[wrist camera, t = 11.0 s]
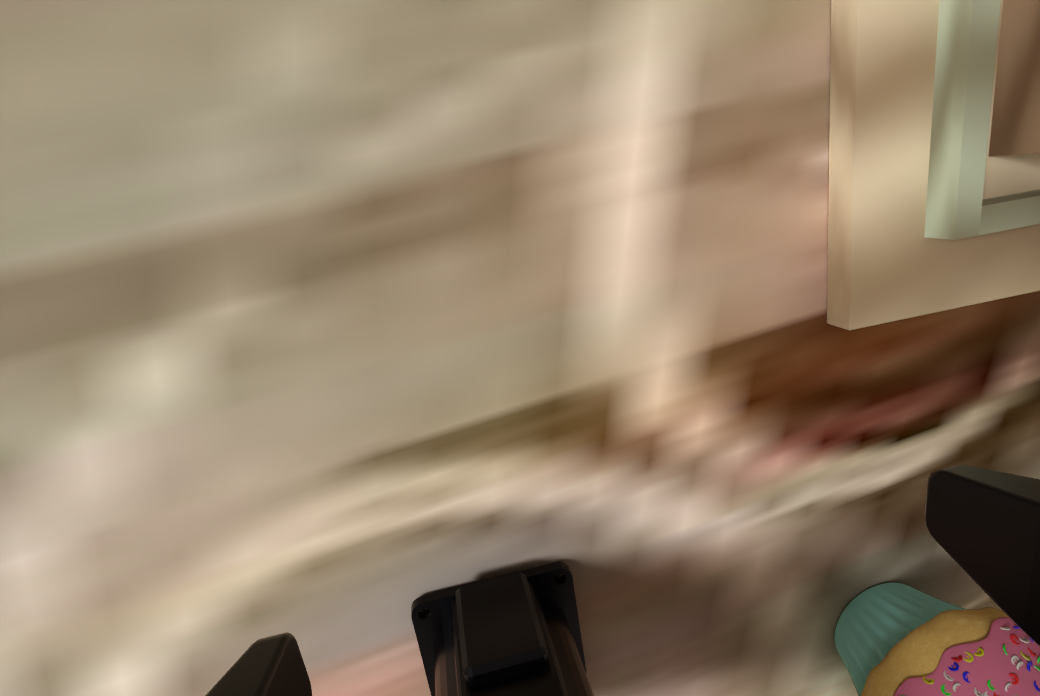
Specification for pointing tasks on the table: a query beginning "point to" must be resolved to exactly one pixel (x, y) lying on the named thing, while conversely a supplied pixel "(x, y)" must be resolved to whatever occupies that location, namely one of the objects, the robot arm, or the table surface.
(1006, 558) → the robot arm
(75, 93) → the table surface
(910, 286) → the board
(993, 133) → the block
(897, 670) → the cupcake
